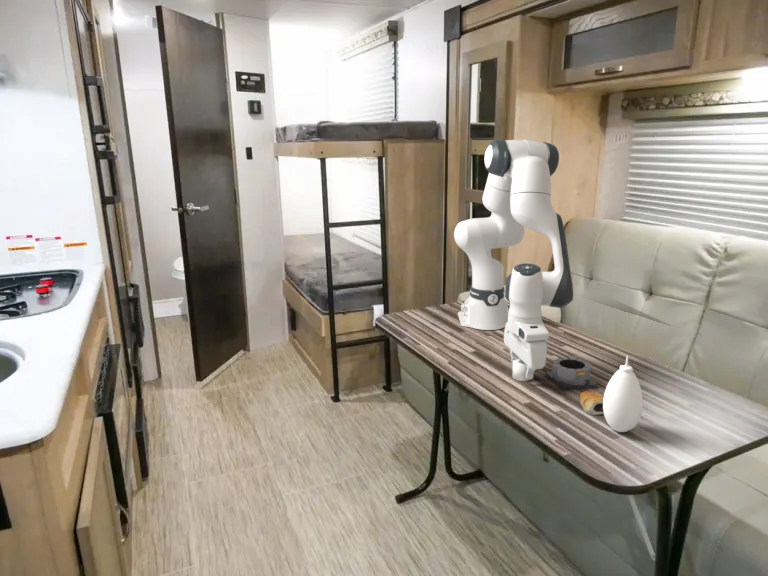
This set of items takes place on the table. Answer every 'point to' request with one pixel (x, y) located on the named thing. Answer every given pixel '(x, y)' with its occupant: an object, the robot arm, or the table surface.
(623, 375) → the white air blower bulb
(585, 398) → the pastry
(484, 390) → the table surface
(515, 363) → the cylinder with grey knob
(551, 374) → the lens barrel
